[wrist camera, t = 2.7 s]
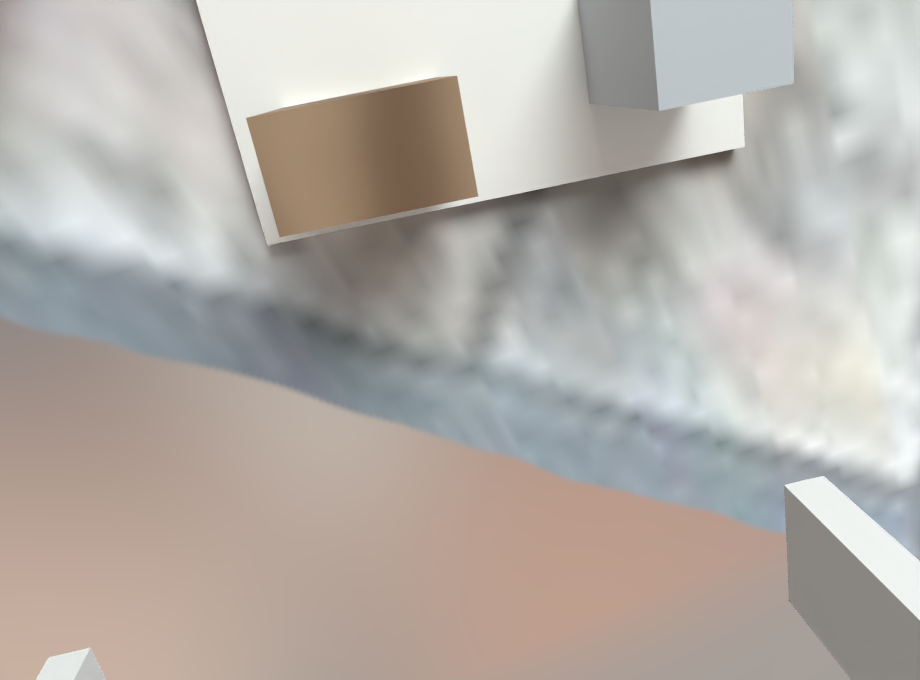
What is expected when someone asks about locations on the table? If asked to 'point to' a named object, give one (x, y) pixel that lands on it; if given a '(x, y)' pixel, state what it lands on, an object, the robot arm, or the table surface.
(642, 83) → the grey block
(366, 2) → the board
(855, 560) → the robot arm
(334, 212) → the walnut block
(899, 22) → the table surface
